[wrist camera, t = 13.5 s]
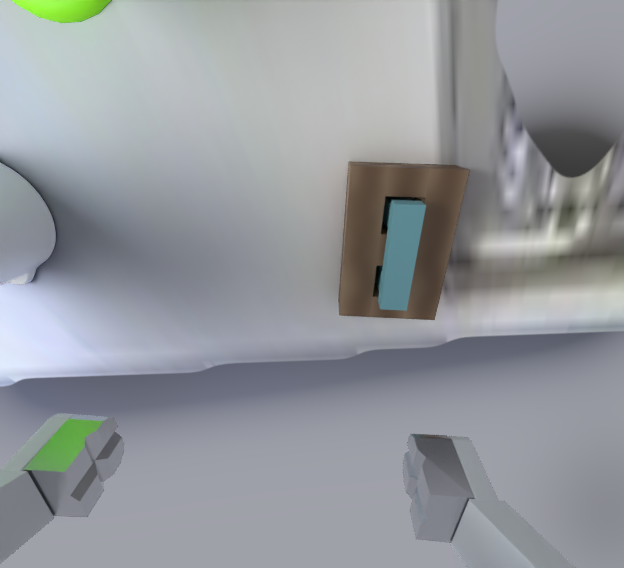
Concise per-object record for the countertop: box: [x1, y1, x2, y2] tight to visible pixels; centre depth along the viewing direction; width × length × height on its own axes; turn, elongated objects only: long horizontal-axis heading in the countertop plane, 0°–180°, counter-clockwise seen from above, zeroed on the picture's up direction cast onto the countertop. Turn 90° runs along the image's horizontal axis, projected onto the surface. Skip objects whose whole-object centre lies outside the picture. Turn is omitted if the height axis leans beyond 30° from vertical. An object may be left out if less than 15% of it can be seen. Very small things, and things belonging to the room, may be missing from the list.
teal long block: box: [375, 197, 426, 311], centre depth 37 cm, size 3×12×7 cm, turn 178°
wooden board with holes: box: [339, 162, 469, 320], centre depth 39 cm, size 12×18×4 cm, turn 178°
